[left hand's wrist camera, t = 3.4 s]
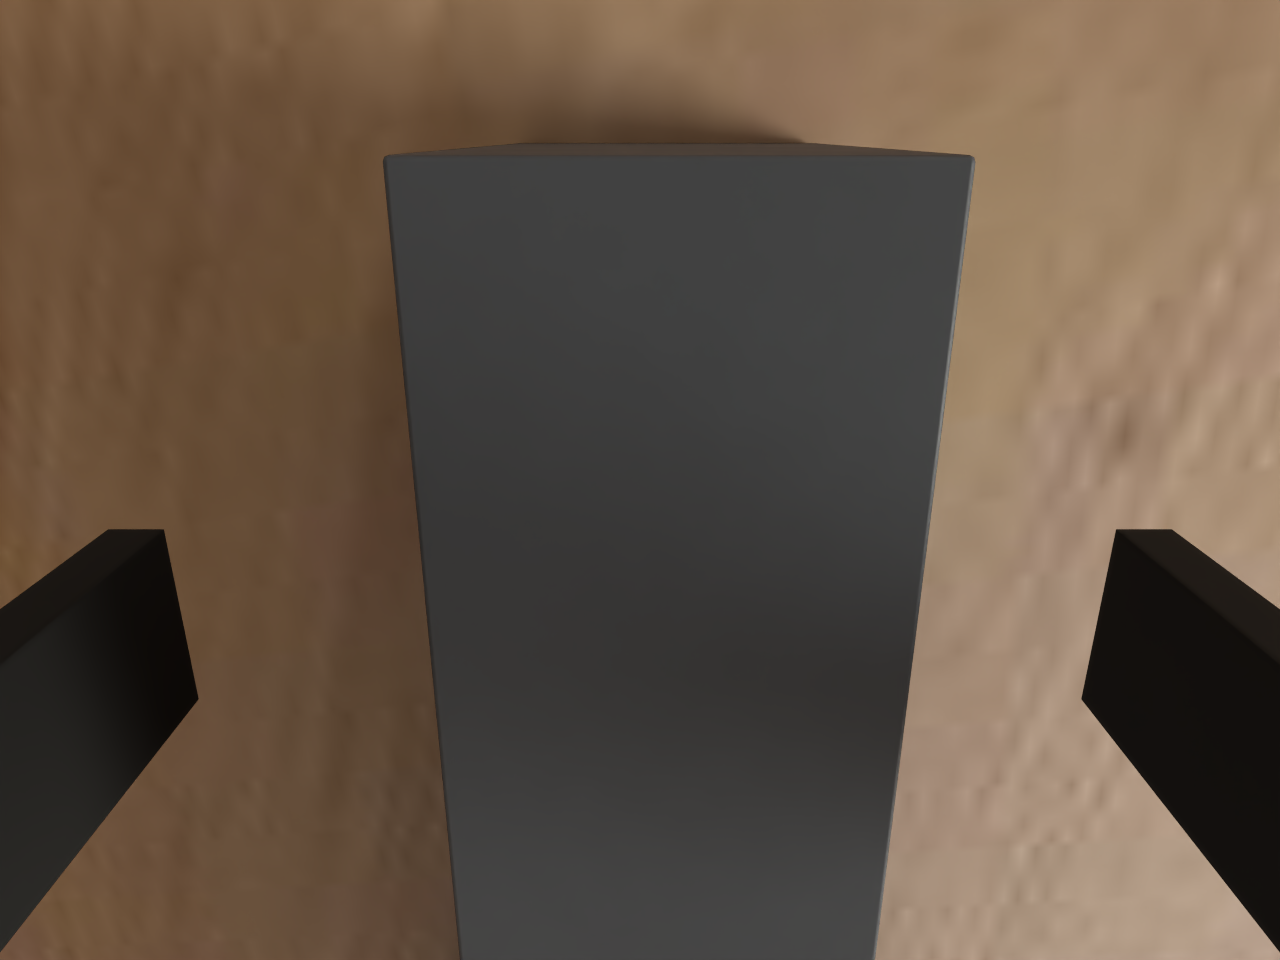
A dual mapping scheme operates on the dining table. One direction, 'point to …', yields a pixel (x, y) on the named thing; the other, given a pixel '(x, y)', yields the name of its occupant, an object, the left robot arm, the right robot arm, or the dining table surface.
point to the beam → (673, 528)
